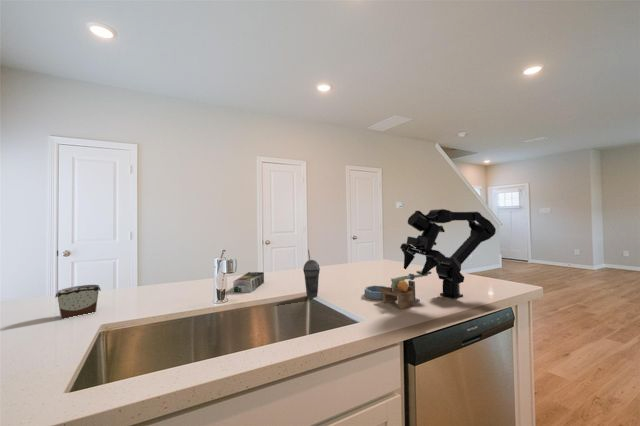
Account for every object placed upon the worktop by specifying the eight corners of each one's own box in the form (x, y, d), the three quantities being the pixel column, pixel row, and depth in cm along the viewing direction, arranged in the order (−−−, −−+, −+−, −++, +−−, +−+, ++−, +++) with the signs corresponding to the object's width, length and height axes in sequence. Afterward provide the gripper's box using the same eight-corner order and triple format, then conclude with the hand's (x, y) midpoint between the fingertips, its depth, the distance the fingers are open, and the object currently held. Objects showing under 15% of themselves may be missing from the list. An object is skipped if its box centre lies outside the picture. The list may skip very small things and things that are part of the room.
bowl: (379, 291, 119) (379, 284, 119) (396, 297, 109) (396, 289, 109) (360, 294, 114) (360, 287, 114) (376, 301, 104) (376, 293, 104)
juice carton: (252, 293, 121) (251, 279, 121) (231, 293, 122) (231, 280, 122) (265, 283, 141) (264, 271, 141) (247, 283, 142) (246, 271, 142)
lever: (423, 283, 110) (423, 270, 110) (431, 285, 106) (431, 271, 106) (389, 289, 101) (388, 275, 101) (396, 292, 98) (396, 277, 98)
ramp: (392, 298, 108) (392, 280, 108) (414, 305, 98) (413, 286, 98) (380, 300, 105) (379, 282, 105) (400, 308, 95) (400, 289, 95)
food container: (99, 308, 105) (99, 282, 105) (100, 311, 100) (100, 285, 100) (55, 316, 96) (55, 289, 96) (55, 321, 91) (54, 292, 92)
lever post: (412, 298, 107) (411, 279, 107) (419, 301, 103) (419, 281, 103) (404, 300, 105) (404, 280, 105) (412, 303, 101) (411, 282, 101)
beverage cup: (318, 299, 109) (317, 250, 110) (301, 298, 111) (300, 250, 111) (322, 294, 116) (321, 248, 117) (306, 293, 118) (305, 248, 118)
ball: (403, 290, 101) (402, 279, 102) (411, 291, 98) (410, 280, 98) (395, 291, 99) (394, 280, 100) (403, 293, 96) (402, 282, 96)
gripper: (399, 225, 112) (384, 258, 109) (436, 230, 95) (419, 269, 93) (415, 237, 117) (401, 268, 114) (453, 244, 100) (437, 281, 97)
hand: (413, 271), depth 104 cm, fingers open, 9 cm apart
